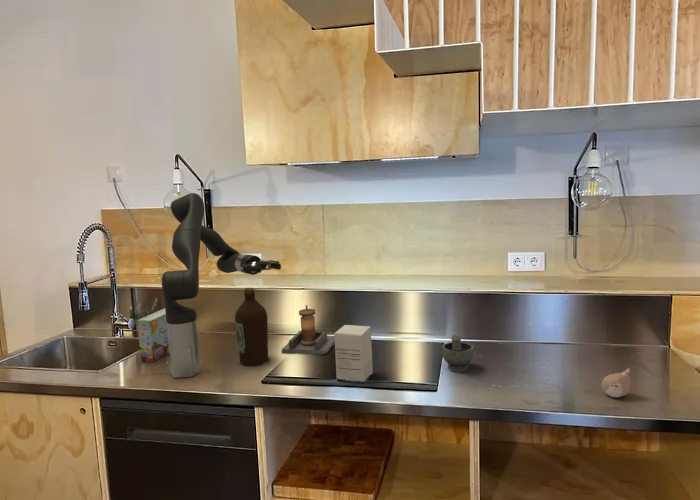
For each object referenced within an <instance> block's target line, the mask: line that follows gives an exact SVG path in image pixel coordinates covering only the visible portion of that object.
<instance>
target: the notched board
mask: <svg viewBox="0 0 700 500" xmlns="http://www.w3.org/2000/svg"><path fill="white" fill-rule="evenodd" d="M315 332H316V337H315V338H316V340H315V341H314V345H311V346H304V345H301V340H302V339H303V338H302V332H301V330H299V331H298V332H297V333H296V334H295V335H294V336H292V338H291V339H289V340H288V343H287V344H286V345H284V346H283V347H282V348H281V354H287V355H288V354H290V355H291V354H293V353H294V354H293V355H296V354H295V353H300V354H299V355H313V354H326V353H327V352H328V351H329V352H330V350H331V349H332V348H331V347H332V346H333V347H334V346H335V337H328V331H318V330H317V331H316V330H315ZM330 348H331V349H330ZM301 353H302V354H301ZM327 354H328V353H327ZM327 354H326V355H327Z"/></svg>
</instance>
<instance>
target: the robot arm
mask: <svg viewBox="0 0 700 500" xmlns="http://www.w3.org/2000/svg"><path fill="white" fill-rule="evenodd" d="M170 210H171V213H172V215H173V217H174V218H175V219H176V220H177V221H178V222H179V223H180V224H179V225H178V226H177V228H176V229H175V230H174V232H173V235H172V236H173V237H172V242H171V250H172V253H173V255H174V256H175V257H176V258H177V259H178V261H179V262H180V263H182V264H183V265H184V267H185V268H186V269H181V270H180V269H179V270H169V271H165V272H163V274H162V276H161V288H162V289H161V290H162V295H163V301H164V302H163V303H164V308H165V312H166V322H167V333H168V344H169V353H168V354H169V365H170V373H171V376H172V377H173V379H176V378H178V379H179V378H190V377H191V378H192V377H194V376H195V375H197V374H199V373H200V372H201V371H202V363H201V362H202V361H201V351H200V350H201V349H200V340H199V339H200V338H199V330H198V329H199V328H198V316H197V315H198V314H197V311H196V310H195V309H194V308H192V307H187V306H184V305H182V304H180V303H178V302H177V301H180V300H181V301H182V300H190V299H195V298H196V297H197V296H198V294H199V290H200V276H199V275H200V272H199V267H200V266H199V263H200V262H199V260H200V251H201V242H202V243H203V244H204V246H205V247H206V248H207V249H208V251H209V252H210V253H211V254H212V256H215V257H219V258H217V260H216V268H217V269H218V270H219V271H221V272H222V273H226V274H230V273H235V272H240V273H243V274H245V275H251V276H254V275H257V274H261V273H262V272H263V271H271V270H281V269H282V265H281V263H280V261H278V260H271V259H269V260H263V259H261V258H260V257H259V256H258V255H253V254H248V253H247V254H244V253H240V252H239V251H238V250H237V249H234V248H233V247H232V246H230V245H229V244H228V243H227V242H225V240H224V239H223V237H222V236H221V235H220V234H219V233H218V232H217V231H216V230H214V229H213V228H211V227H208V226H205V225H203V221H204V215H205V204H204V200H203V198H202V197H201V195H199V194H198V193H196V192H191V193H188V194H186V195H184V196H181V197H179V198H177V199H174V200H173V201H172V202H171V203H170Z"/></svg>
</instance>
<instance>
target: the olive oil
mask: <svg viewBox="0 0 700 500" xmlns="http://www.w3.org/2000/svg"><path fill="white" fill-rule="evenodd" d="M234 323H235V324H234V325H235V329H236V330H235V331H236V339H237V346H238V347H237V348H238V352H239V353H238V356H239V363H240V364H241V365H242V366H246V367H247V366H249V367H253V366H254V367H255V366H259V365H263V364H265V363H267V362H268V361H269V345H268V313H267V310H266V308H265V307H264V306H263V305H262V304H261V303H260V302H258V300H257V299H256V294H255V288H254V287H246V288H244V301H243V302H242V303H241V305H240V306H238V308H237V309H236V311H235V315H234Z"/></svg>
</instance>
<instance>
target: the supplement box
mask: <svg viewBox="0 0 700 500" xmlns="http://www.w3.org/2000/svg"><path fill="white" fill-rule="evenodd" d="M371 327H372V326H369V325H367V326H366V325H353V324H352V325H351V324H344V325H342V327H340V328H339V329H338V330H337V331H335V332H334V337H333V338H335V344H334V350H335V351H334V354H335V372H336V373H335V374H336V379H337V378H338V379H345V380H356V381H365V380H366V379H367V378H368V377H369V376H370V375H371V376H372V375H373V374H374V370H373V369H374V368H373V349H372V345H373V344H372V328H371ZM371 376H370V377H371ZM370 377H369V378H370ZM369 378H368V379H369ZM368 379H367V380H368Z"/></svg>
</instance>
